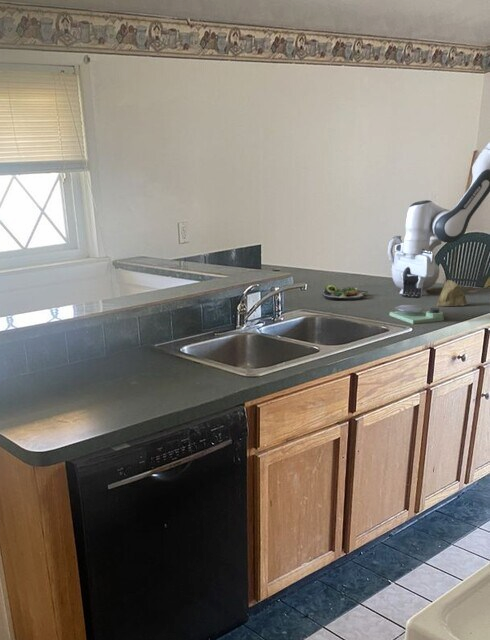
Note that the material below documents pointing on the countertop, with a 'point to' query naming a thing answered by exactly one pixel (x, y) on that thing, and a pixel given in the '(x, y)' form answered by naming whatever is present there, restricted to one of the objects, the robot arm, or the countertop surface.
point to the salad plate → (342, 293)
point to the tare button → (434, 310)
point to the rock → (451, 295)
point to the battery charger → (410, 285)
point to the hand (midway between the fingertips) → (411, 285)
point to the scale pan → (409, 308)
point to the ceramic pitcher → (397, 274)
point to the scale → (418, 316)
